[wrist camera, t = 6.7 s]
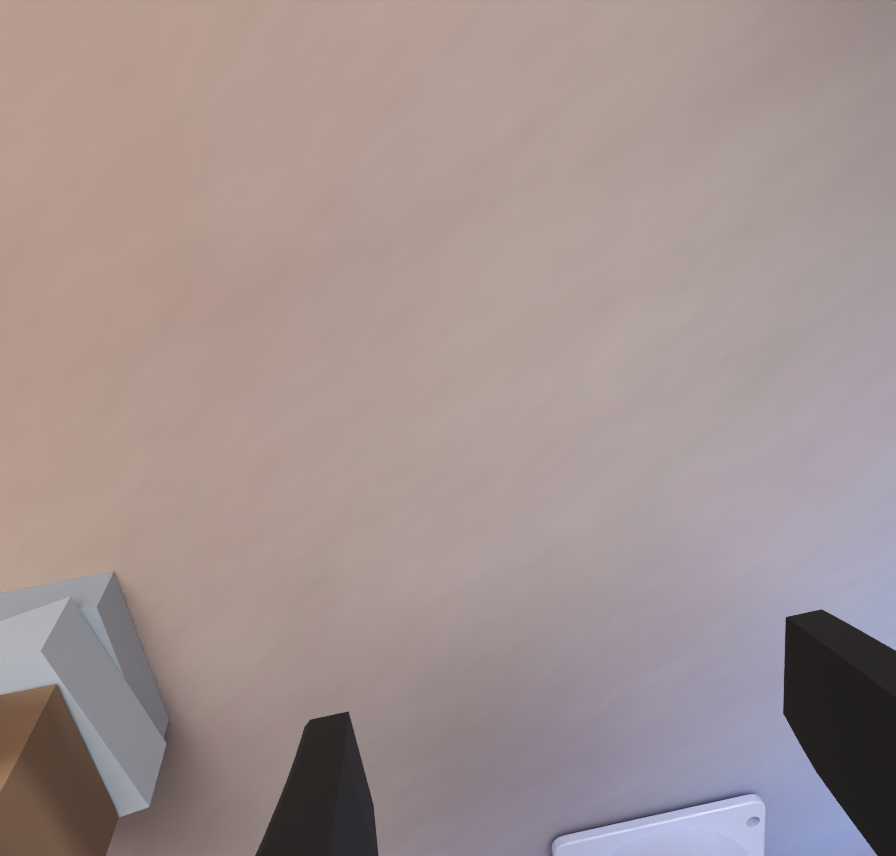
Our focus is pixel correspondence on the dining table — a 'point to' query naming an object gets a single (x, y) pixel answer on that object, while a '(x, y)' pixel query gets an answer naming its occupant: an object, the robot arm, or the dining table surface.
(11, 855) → the walnut cube
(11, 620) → the tower top
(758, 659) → the dining table surface
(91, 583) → the tower base
